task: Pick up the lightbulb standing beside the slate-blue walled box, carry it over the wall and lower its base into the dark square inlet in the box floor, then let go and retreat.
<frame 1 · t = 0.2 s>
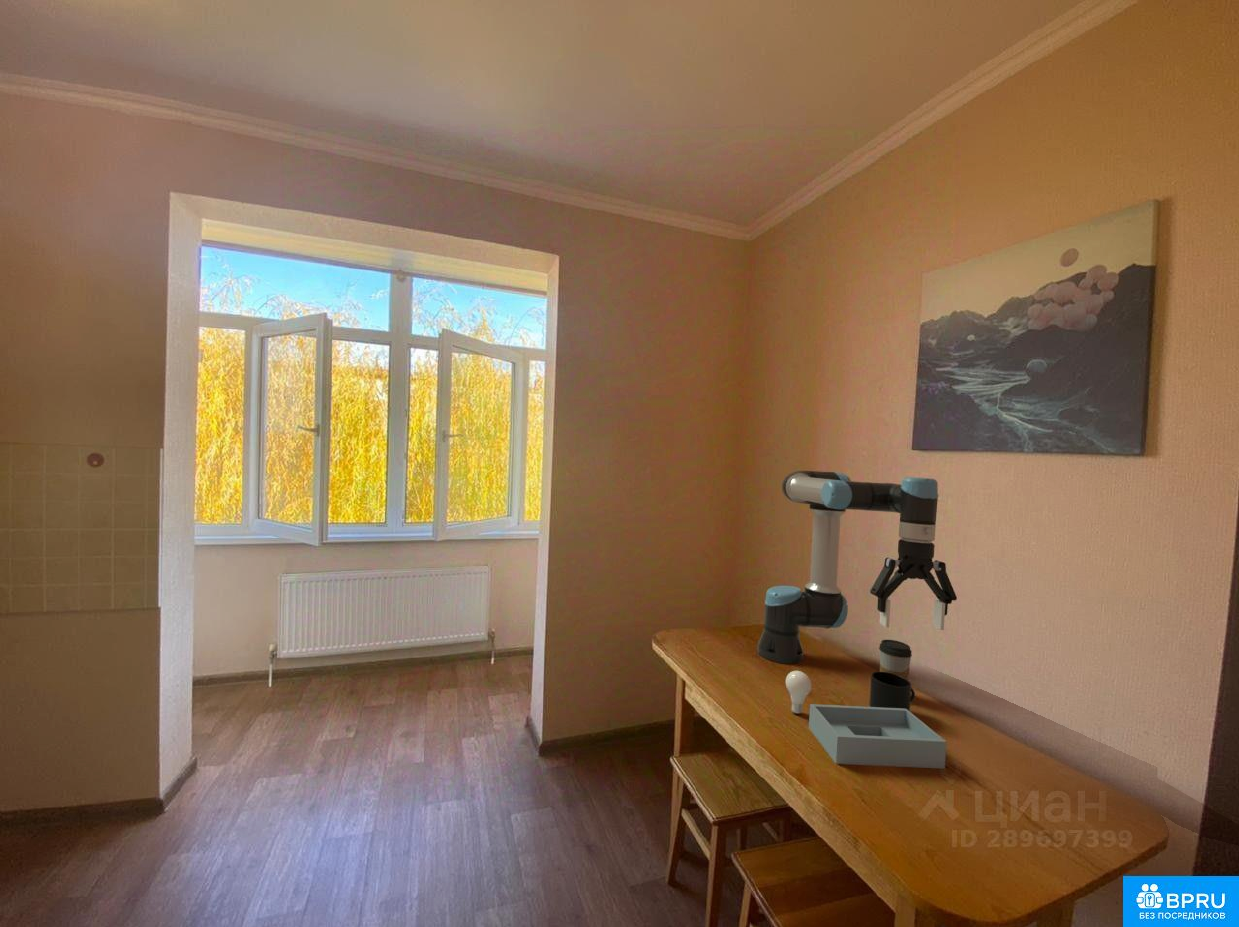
hand: (911, 626, 115), 28 cm above the table, fingers open, 13 cm apart
lightbulb: (796, 713, 125), on the table
mug: (893, 712, 128), on the table
coffee cup: (892, 695, 138), on the table
socket box: (872, 747, 111), on the table
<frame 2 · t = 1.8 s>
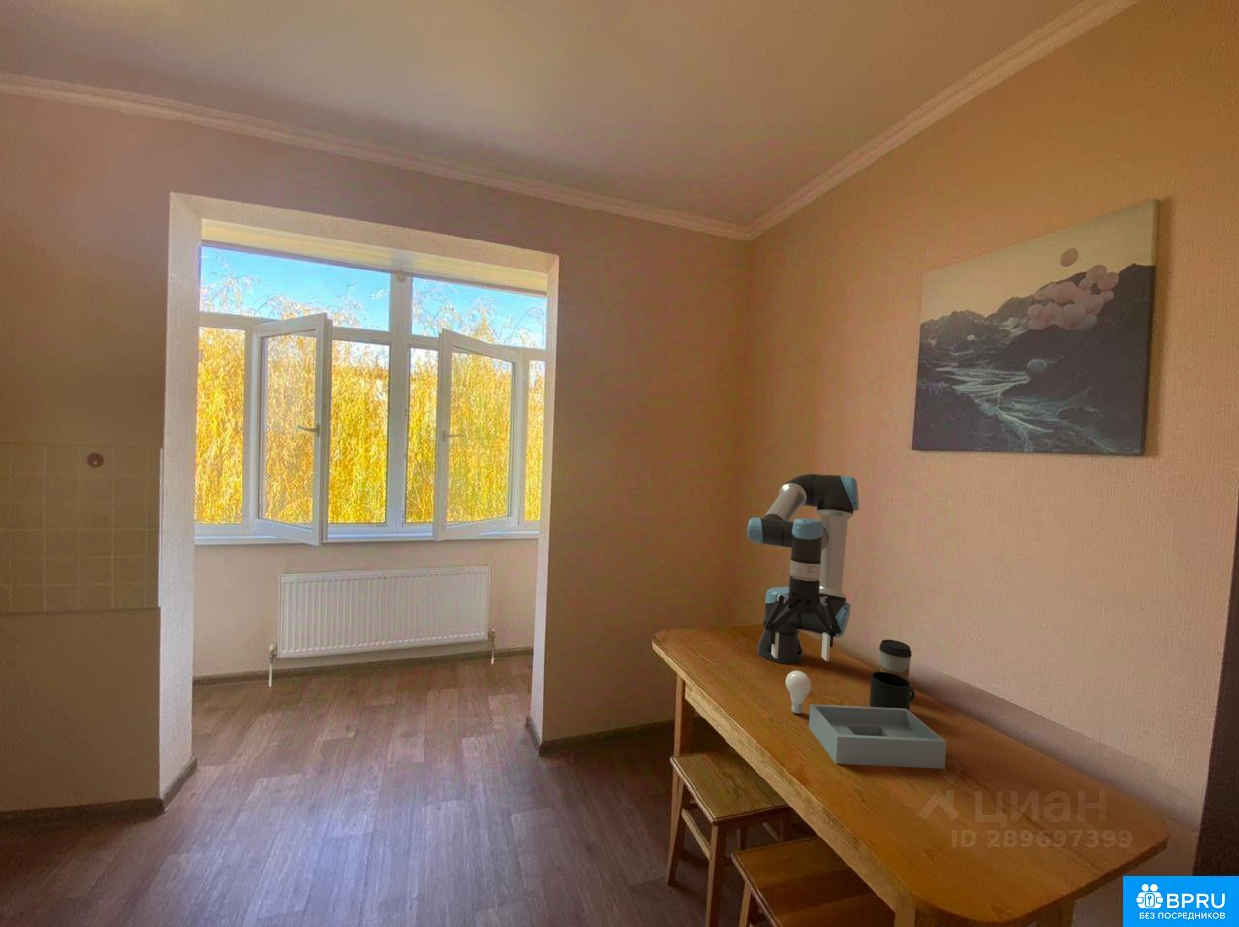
hand: (799, 657, 124), 15 cm above the table, fingers open, 13 cm apart
nothing on the table moved.
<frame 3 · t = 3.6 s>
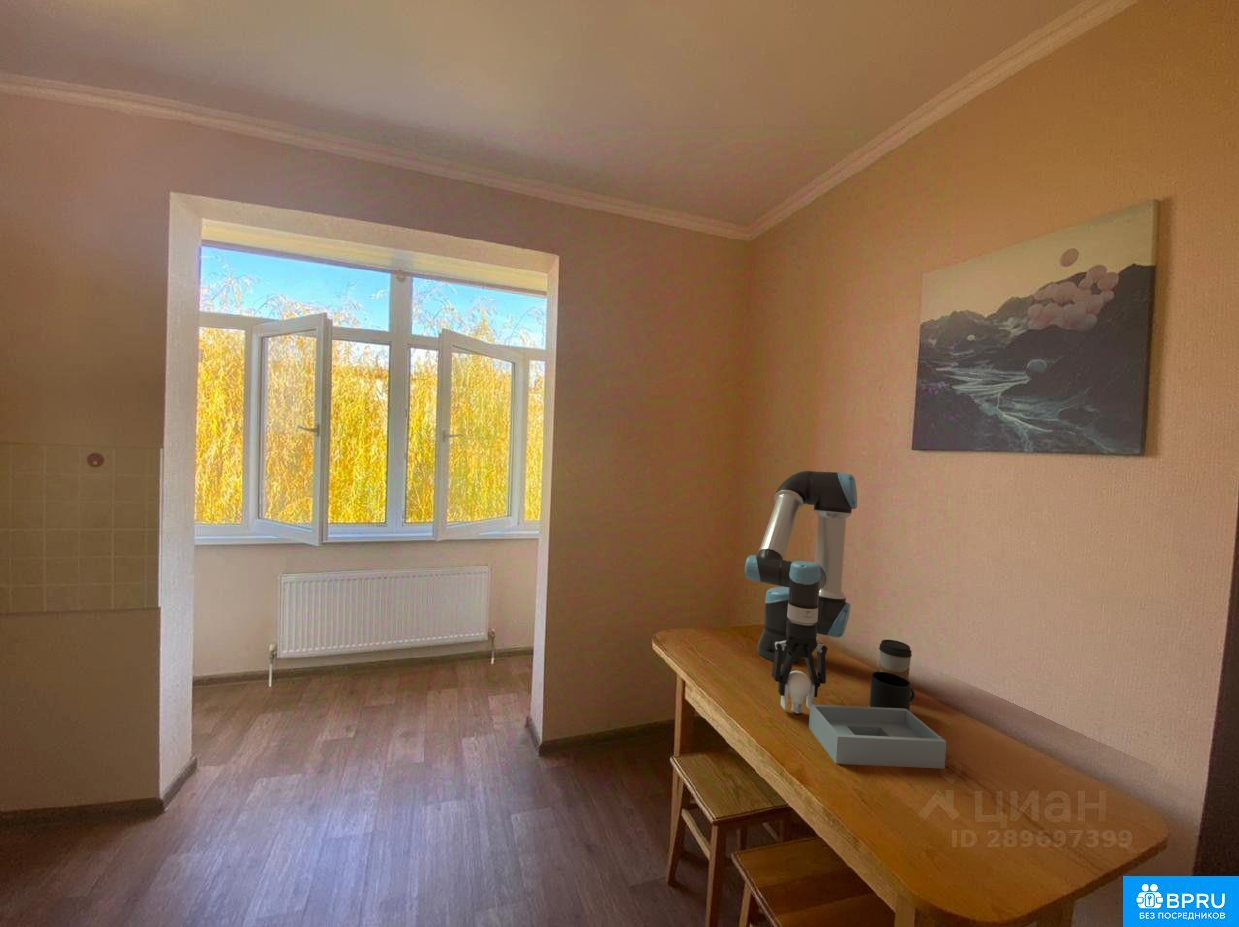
hand: (796, 707, 125), 1 cm above the table, fingers closed on lightbulb, 6 cm apart
lightbulb: (796, 713, 125), on the table, touching gripper
everything else where it was.
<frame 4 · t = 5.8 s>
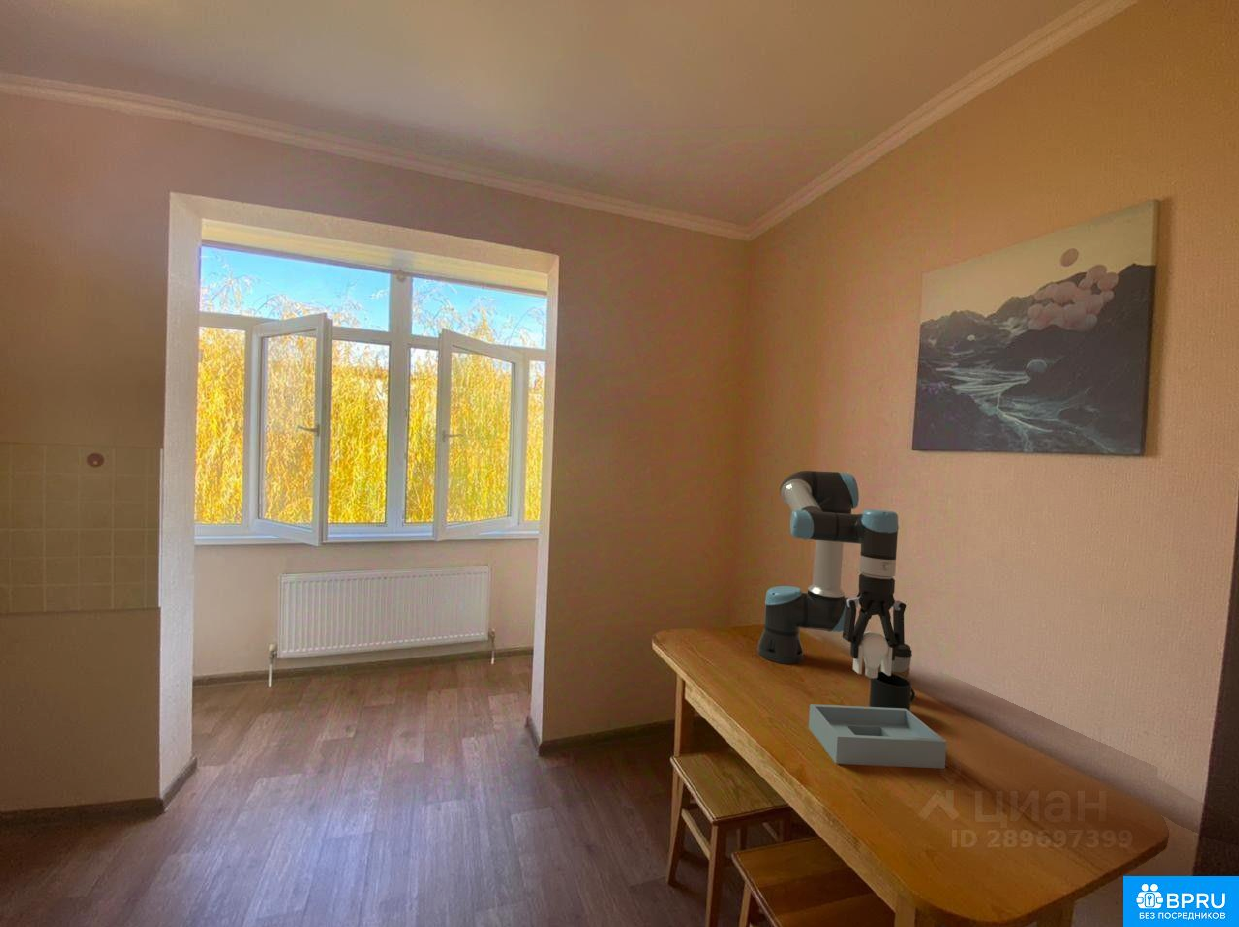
hand: (871, 672, 111), 17 cm above the table, fingers closed on lightbulb, 6 cm apart
lightbulb: (871, 679, 111), point 16 cm above the table, touching gripper
everything else where it was.
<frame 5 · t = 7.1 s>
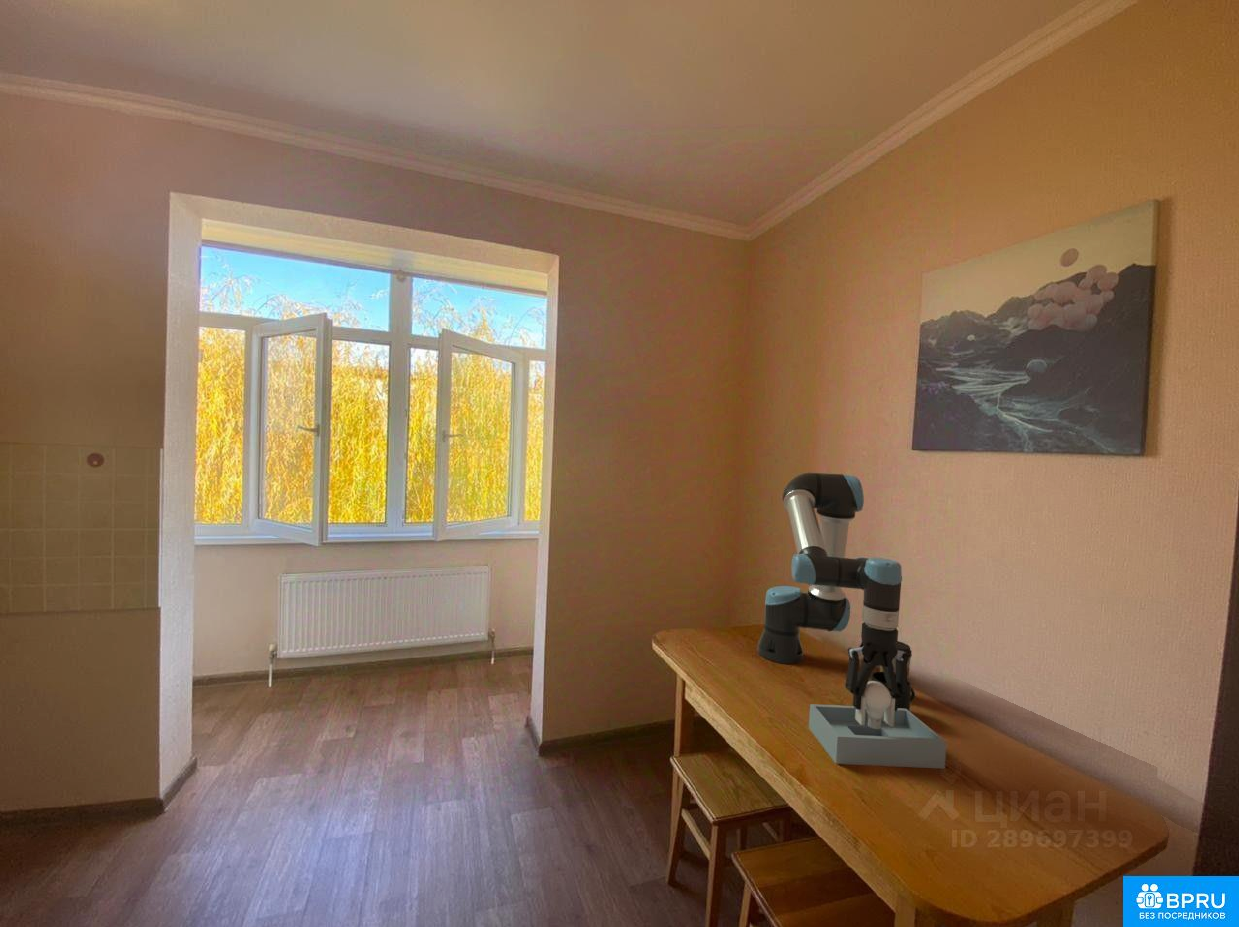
hand: (874, 722, 111), 6 cm above the table, fingers closed on lightbulb, 6 cm apart
lightbulb: (873, 729, 111), point 4 cm above the table, touching gripper
everything else where it was.
when the fingers open (3 cm above the table, at t = 8.2 s): lightbulb drops 1 cm, resting on socket box.
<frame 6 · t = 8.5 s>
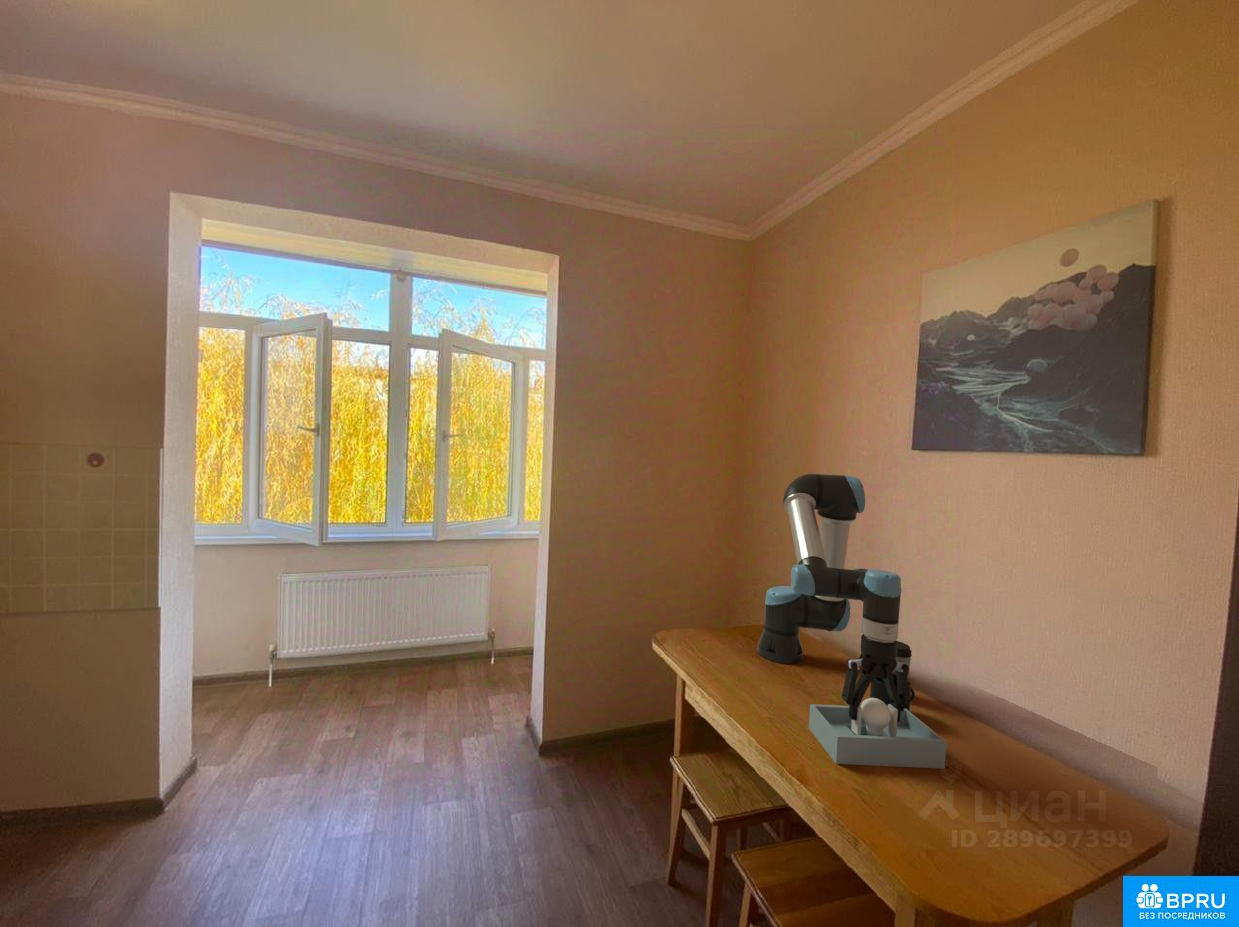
hand: (873, 733, 111), 3 cm above the table, fingers open, 8 cm apart
lightbulb: (872, 746, 111), resting on socket box
everything else where it was.
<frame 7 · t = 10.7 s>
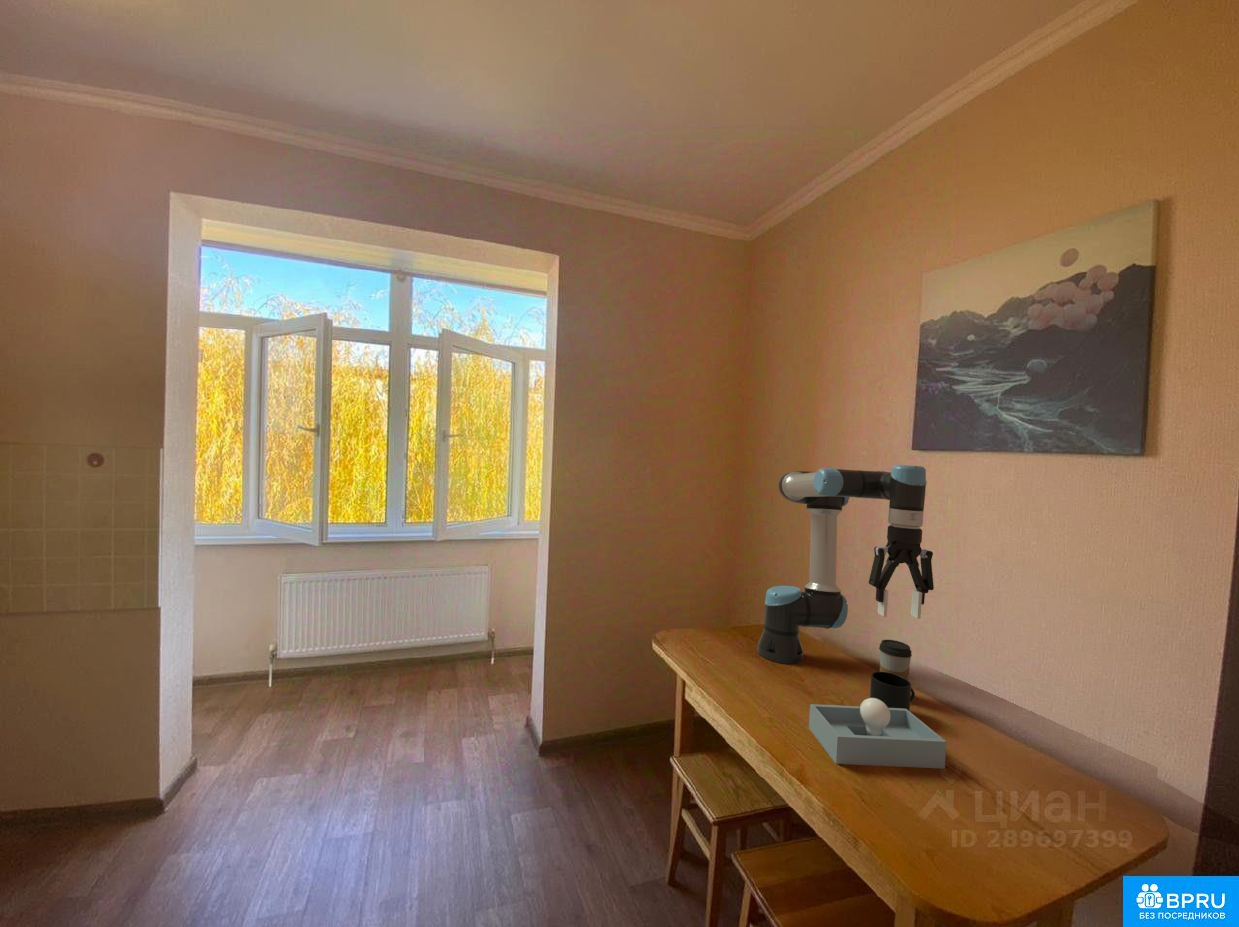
hand: (898, 615, 119), 29 cm above the table, fingers open, 8 cm apart
nothing on the table moved.
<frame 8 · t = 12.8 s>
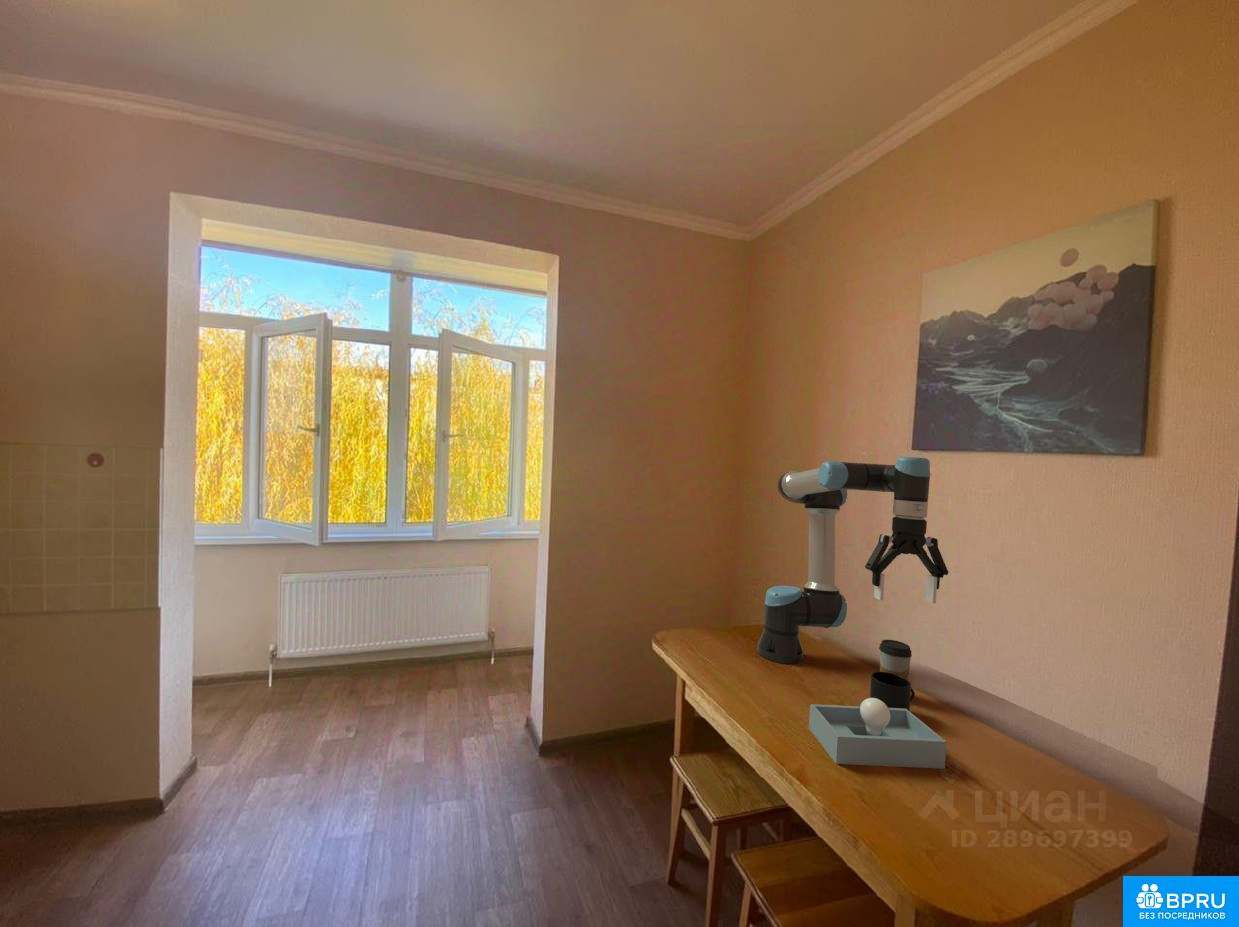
hand: (904, 600, 120), 33 cm above the table, fingers open, 13 cm apart
nothing on the table moved.
at the end: lightbulb inside the target area on the socket box (0.0 cm from its centre), point 0.1 cm above the socket box's base; the gripper is holding nothing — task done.
